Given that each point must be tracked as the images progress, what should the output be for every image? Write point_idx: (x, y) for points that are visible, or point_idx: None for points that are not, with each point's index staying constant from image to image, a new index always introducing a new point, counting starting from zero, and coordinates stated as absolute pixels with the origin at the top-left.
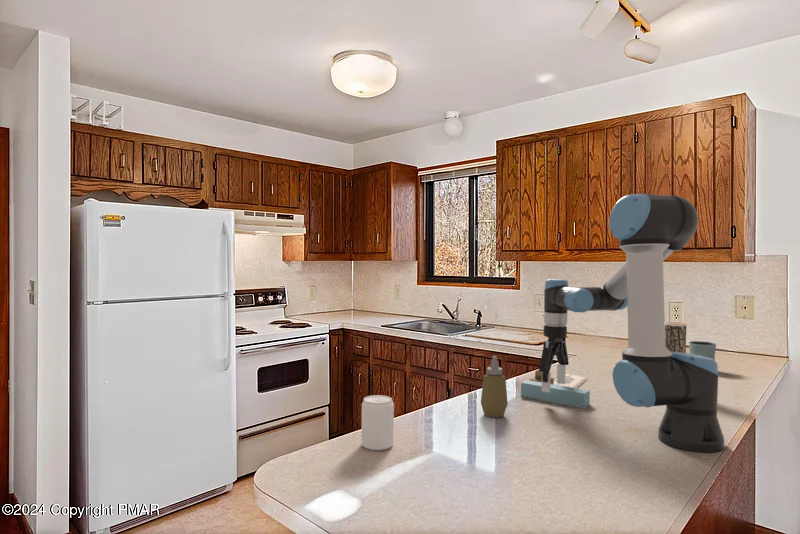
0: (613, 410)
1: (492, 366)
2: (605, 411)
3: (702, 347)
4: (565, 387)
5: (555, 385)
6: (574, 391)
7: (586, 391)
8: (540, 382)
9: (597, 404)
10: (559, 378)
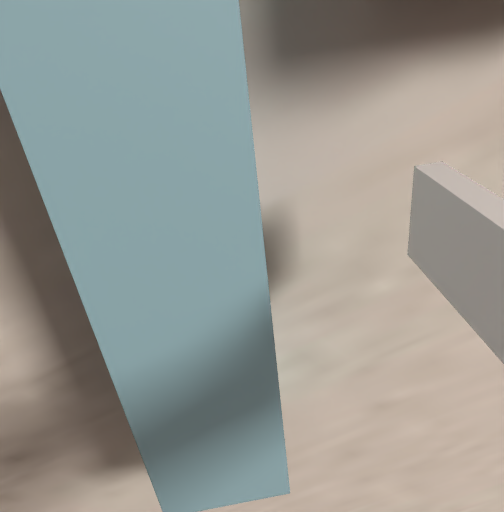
0: None
1: None
2: None
3: None
4: (234, 358)
5: (232, 253)
6: (161, 461)
7: (243, 496)
8: (225, 2)
9: (314, 417)
10: (443, 227)
